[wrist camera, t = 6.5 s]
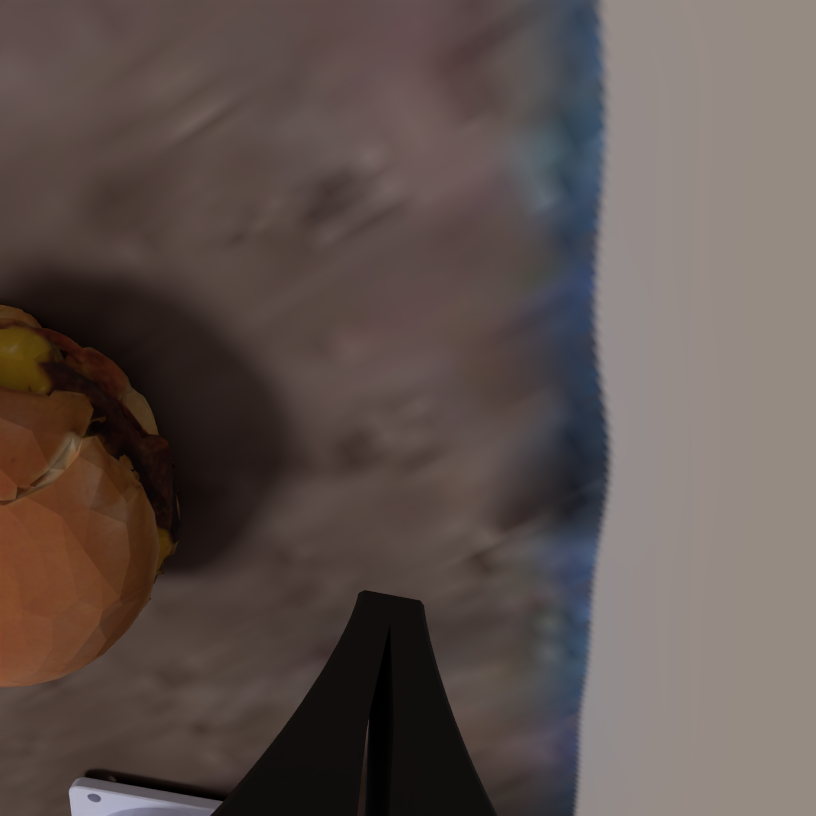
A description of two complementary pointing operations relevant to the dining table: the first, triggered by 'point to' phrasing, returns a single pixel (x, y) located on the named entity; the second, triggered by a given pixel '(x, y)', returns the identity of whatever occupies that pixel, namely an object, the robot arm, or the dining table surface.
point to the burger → (74, 502)
